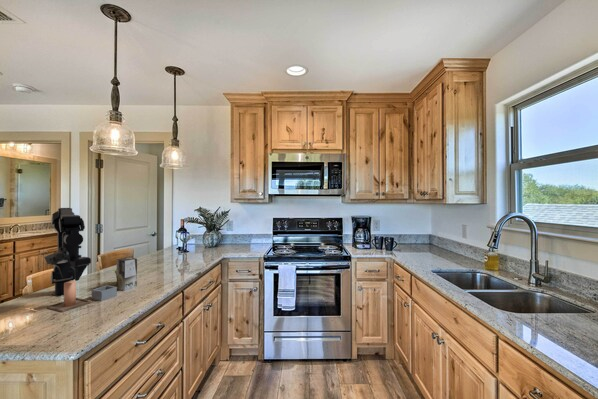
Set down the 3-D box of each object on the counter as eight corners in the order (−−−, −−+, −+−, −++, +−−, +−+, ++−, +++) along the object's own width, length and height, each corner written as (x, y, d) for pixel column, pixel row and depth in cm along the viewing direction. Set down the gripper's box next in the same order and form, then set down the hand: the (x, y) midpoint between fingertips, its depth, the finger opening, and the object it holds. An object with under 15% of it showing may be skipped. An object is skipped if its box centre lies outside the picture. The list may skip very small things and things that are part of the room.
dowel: (61, 305, 117) (61, 283, 117) (72, 302, 121) (72, 280, 121) (67, 307, 116) (67, 284, 116) (78, 303, 119) (77, 281, 119)
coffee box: (137, 288, 143) (137, 258, 143) (124, 292, 137) (124, 260, 137) (128, 285, 148) (129, 256, 148) (115, 289, 142) (116, 258, 142)
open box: (91, 300, 126) (91, 289, 126) (107, 295, 133) (107, 285, 133) (101, 302, 124) (101, 291, 124) (116, 297, 130) (116, 287, 130)
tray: (46, 309, 115) (46, 306, 115) (76, 300, 126) (76, 297, 126) (62, 313, 111) (62, 310, 111) (92, 304, 122) (92, 300, 122)
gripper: (35, 245, 114) (34, 282, 114) (61, 248, 108) (61, 287, 107) (65, 242, 125) (65, 275, 125) (91, 244, 118) (91, 279, 118)
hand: (70, 279), depth 118 cm, fingers open, 9 cm apart
